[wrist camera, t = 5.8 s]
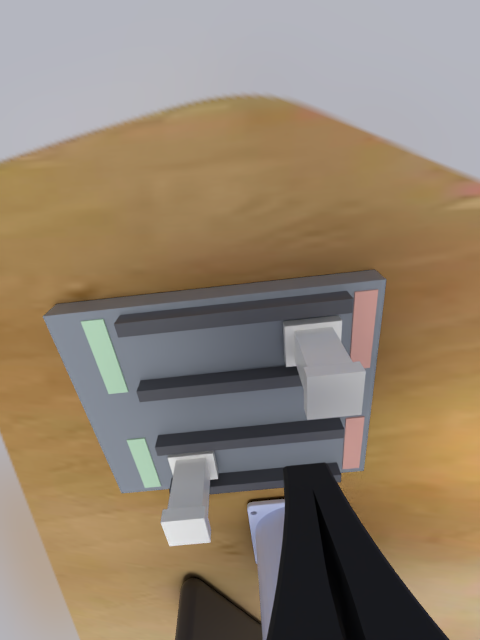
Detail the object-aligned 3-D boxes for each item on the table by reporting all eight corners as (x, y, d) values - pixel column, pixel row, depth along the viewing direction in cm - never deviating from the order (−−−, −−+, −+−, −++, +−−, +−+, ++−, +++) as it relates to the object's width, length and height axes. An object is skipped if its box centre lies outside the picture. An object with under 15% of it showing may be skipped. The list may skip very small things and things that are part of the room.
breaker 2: (336, 355, 18) (368, 415, 14) (284, 360, 18) (300, 422, 14) (338, 315, 17) (373, 368, 13) (282, 321, 17) (299, 376, 13)
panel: (356, 453, 25) (368, 483, 23) (127, 475, 25) (117, 506, 23) (374, 269, 18) (395, 286, 16) (56, 304, 18) (32, 325, 16)
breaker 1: (218, 471, 23) (215, 543, 19) (176, 475, 23) (165, 547, 19) (213, 446, 22) (209, 516, 17) (169, 450, 22) (154, 521, 18)
